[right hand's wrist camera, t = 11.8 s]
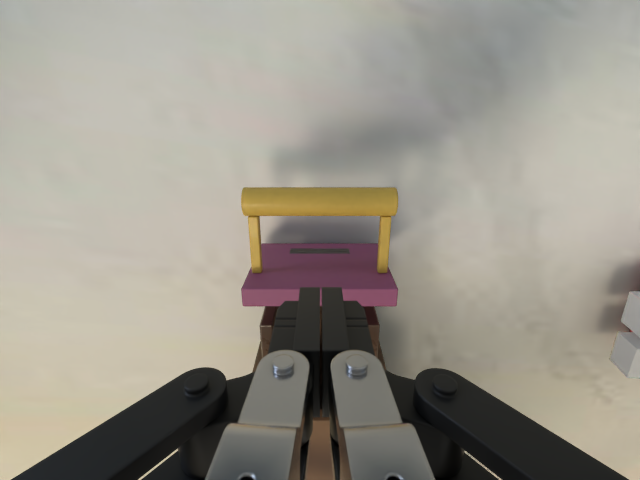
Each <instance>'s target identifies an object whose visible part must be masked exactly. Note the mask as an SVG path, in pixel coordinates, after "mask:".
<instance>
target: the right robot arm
mask: <svg viewBox="0 0 640 480" xmlns="http://www.w3.org/2000/svg"><path fill="white" fill-rule="evenodd" d="M313 417H320V287H300V291H299V300H298V301H284V302H283V304H282V305H281V306H280V307H279V308H278V309H277V313H276V318H275V322H274V328H273V332H272V336H271V341H270V345H269V350H268V355H266V356H265V357H263V358H262V359H261V360H260V362H259V364H258V366H257V369H256V371H254V372H253V373H251V374H248V375H246V376H243V377H239V378H235V379H231V380H227V381H226V378H225V376H224V374H223V373H222V372H221V371H219V370H217V369H214V368H206V367H205V368H197V369H193V370H190V371H188V372H185V373H184V374H182V375H180V376H179V377H177V378H175V379H174V380H172V381H170V382H169V383H167V384H166V385H164V386H162V387H161V388H159V389H157V390H156V391H154V392H153V393H151V394H149V395H148V396H146V397H144V398H143V399H141V400H140V401H138V402H136V403H135V404H133V405H131V406H130V407H128V408H127V409H125V410H123V411H122V412H120V413H119V414H117V415H115V416H114V417H112V418H110V419H109V420H107V421H106V422H104V423H102V424H101V425H99V426H97V427H96V428H94V429H93V430H91V431H89V432H88V433H86V434H84V435H83V436H81V437H80V438H78V439H76V440H75V441H73V442H71V443H70V444H68V445H67V446H65V447H63V448H62V449H60V450H58V451H57V452H55V453H54V454H52V455H50V456H49V457H47V458H46V459H44V460H42V461H41V462H39V463H37V464H36V465H34V466H33V467H31V468H29V469H28V470H26V471H24V472H23V473H21V474H20V475H18V476H16V477H15V478H13V479H11V480H138V479H139V478H140V477H141V476H143V475H144V474H145V473H147V472H148V471H149V470H150V469H152V468H153V467H154V466H156V465H157V464H158V463H159V462H161V461H162V460H163V459H164V458H166V457H167V456H168V455H170V454H171V453H172V452H173V451H175V450H176V449H177V448H178V451H177V452H176V453H175V454H173V455H172V456H171V457H169V458H168V459H167V460H166V461H164V462H163V463H162V464H161V465H159V466H158V467H157V468H156V469H154V470H153V471H152V472H150V473H149V474H148V475H147V476H145V477H144V478H143V479H142V480H306V479H307V470H308V462H309V453H310V437H311V434H312V430H313ZM322 417H329V422H330V453H331V462H332V470H333V479H334V480H498V479H497V478H496V477H495V476H493V475H492V474H491V473H490V472H488V471H487V470H486V469H484V468H483V467H482V466H481V465H479V464H478V463H477V462H476V461H474V460H473V459H472V458H471V457H469V456H468V455H467V454H465V453H464V450H465V451H467V452H468V453H469V454H470V455H472V456H473V457H474V458H476V459H477V460H478V461H479V462H481V463H482V464H483V465H484V466H486V467H487V468H488V469H490V470H491V471H492V472H493V473H495V474H496V475H497V476H499V477H500V478H501V479H502V480H629V479H627V478H625V477H624V476H622V475H620V474H619V473H617V472H616V471H614V470H612V469H611V468H609V467H607V466H606V465H604V464H603V463H601V462H599V461H598V460H596V459H595V458H593V457H591V456H590V455H588V454H586V453H585V452H583V451H582V450H580V449H578V448H577V447H575V446H573V445H572V444H570V443H569V442H567V441H565V440H564V439H562V438H560V437H559V436H557V435H556V434H554V433H552V432H551V431H549V430H547V429H546V428H544V427H543V426H541V425H539V424H538V423H536V422H534V421H533V420H531V419H530V418H528V417H526V416H525V415H523V414H522V413H520V412H518V411H517V410H515V409H513V408H512V407H510V406H509V405H507V404H505V403H504V402H502V401H500V400H499V399H497V398H496V397H494V396H492V395H491V394H489V393H487V392H486V391H484V390H483V389H481V388H479V387H478V386H476V385H474V384H473V383H471V382H470V381H468V380H466V379H465V378H463V377H461V376H460V375H458V374H456V373H454V372H452V371H449V370H445V369H439V368H431V369H427V370H424V371H422V372H420V373H419V374H418V375H417V377H416V379H415V380H412V379H408V378H404V377H400V376H397V375H394V374H392V373H390V372H388V371H387V370H385V369H384V368H383V366H382V364H381V362H380V360H379V359H378V358H377V357H375V353H374V349H373V345H372V340H371V336H370V331H369V327H368V322H367V320H366V314H365V309H364V308H363V307H362V306H361V305H360V304H359V303H358V302H357V301H343V293H342V287H322Z"/></svg>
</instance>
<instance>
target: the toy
mask: <svg viewBox="0 0 640 480" xmlns="http://www.w3.org/2000/svg"><path fill="white" fill-rule="evenodd" d="M621 322H622V323H623V324H624V325H626V326H627V327H628V328H629V329H630V332H617V335H616V338H615V341H614V345H613V348H612V351H611V355H610V358H609V359H610V360H611V361H612V362H613V363H614V364H615V366H616V367H617V368H618V369H619V370H620V371H621V372H622V373H623V374H624V375H625V376H626V377H627V378H639V379H640V291H630V292H629V295H628V298H627V302H626V305H625V308H624V312H623V315H622V318H621Z"/></svg>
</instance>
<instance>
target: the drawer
mask: <svg viewBox="0 0 640 480" xmlns="http://www.w3.org/2000/svg"><path fill="white" fill-rule="evenodd" d="M241 205H242V211H243V214H244V215H245V216H248V224H249V237H250V250H251V264H252V267H251V269H250V271H249V273H248V276H247V278H246V280H245V282H244V284H243V287H242V289H241V291H242V303H243V306H265V309H264V313H263V316H262V320H261V323H260V335H261V349H262V358H263V357H265V356H266V355H268V350H269V345H270V341H271V336H272V332H273V328H274V322H275V318H276V313H277V309H278V308H279V307H280V306H281V305H282V304H283V302H284V301H298V300H299V291H300V287H320V409H322V287H342V293H343V301H357V302H358V303H359V304H360V305H361V306H362V307H363V308H364V309H365V314H366V320H367V322H368V327H369V331H370V336H371V340H372V345H373V349H374V353H375V357H377V355H378V341H379V327H380V325H379V322H378V318H377V314H376V311H375V307H374V306H396V305H397V295H398V288H397V286H396V284H395V281H394V279H393V277H392V275H391V272H390V270H389V268H388V255H389V242H390V229H391V216H395V215H396V213H397V208H398V193H397V189H396V188H248V187H245V188H243V190H242V195H241ZM259 216H380V225H379V241H378V244H261V235H260V219H259Z"/></svg>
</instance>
